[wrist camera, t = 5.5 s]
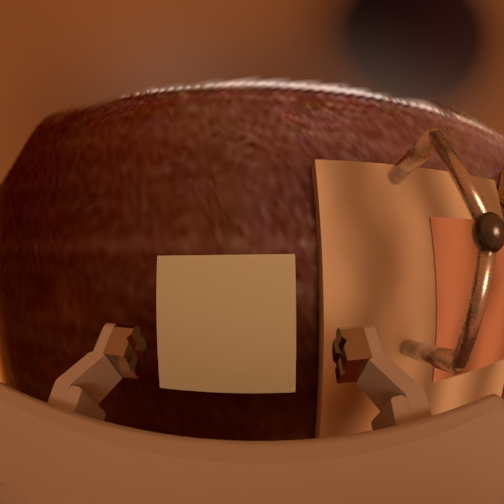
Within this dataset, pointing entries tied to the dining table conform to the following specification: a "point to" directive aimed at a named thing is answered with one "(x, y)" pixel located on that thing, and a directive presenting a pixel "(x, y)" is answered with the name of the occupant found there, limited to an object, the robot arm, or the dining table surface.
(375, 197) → the board
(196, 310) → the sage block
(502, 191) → the candy box
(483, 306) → the bent wire
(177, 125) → the dining table surface
